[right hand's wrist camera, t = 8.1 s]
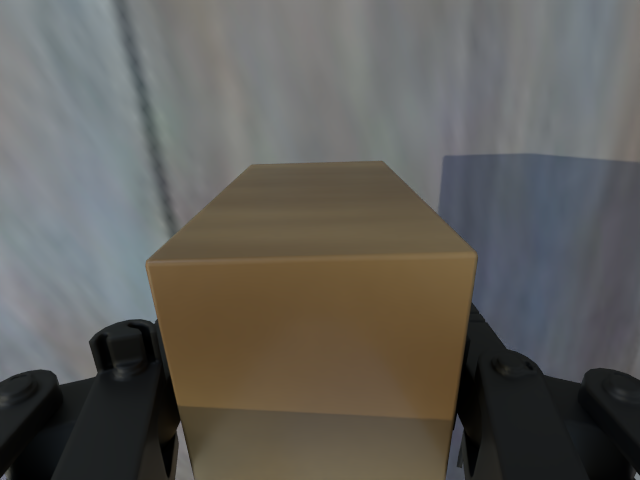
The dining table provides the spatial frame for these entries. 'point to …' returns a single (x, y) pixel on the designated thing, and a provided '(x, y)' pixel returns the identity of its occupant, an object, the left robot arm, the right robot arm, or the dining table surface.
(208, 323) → the bar
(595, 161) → the dining table surface
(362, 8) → the dining table surface
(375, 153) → the dining table surface
